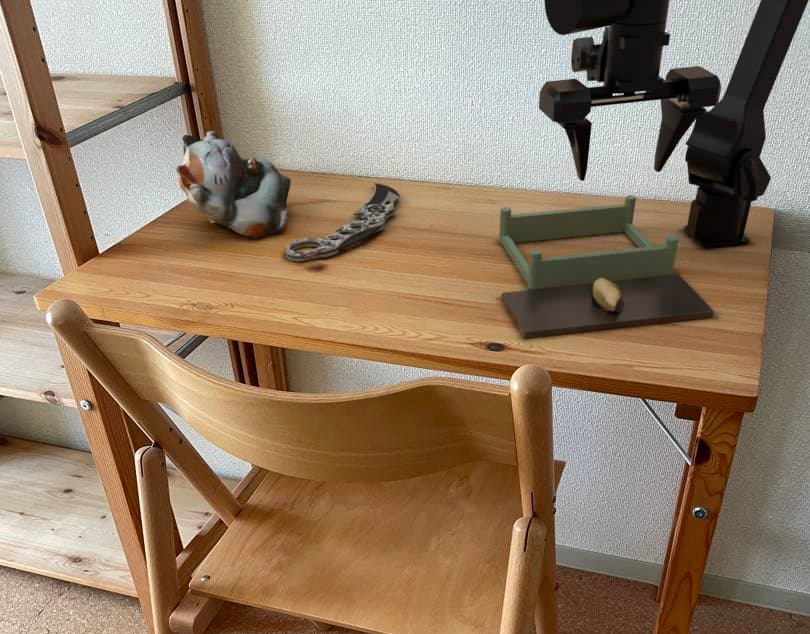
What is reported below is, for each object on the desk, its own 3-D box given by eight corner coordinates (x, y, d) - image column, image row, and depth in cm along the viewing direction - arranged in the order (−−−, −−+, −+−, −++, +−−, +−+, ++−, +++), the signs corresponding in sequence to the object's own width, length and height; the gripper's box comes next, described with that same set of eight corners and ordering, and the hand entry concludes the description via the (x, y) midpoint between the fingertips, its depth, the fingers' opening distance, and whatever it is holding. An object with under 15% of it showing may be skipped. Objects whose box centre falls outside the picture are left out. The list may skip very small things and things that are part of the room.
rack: (629, 228, 116) (634, 194, 113) (674, 275, 104) (681, 239, 101) (497, 241, 114) (499, 207, 111) (529, 290, 102) (531, 254, 99)
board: (676, 280, 103) (678, 273, 103) (712, 317, 96) (714, 310, 95) (501, 298, 101) (501, 292, 101) (524, 338, 94) (524, 332, 93)
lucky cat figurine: (282, 242, 115) (218, 157, 105) (214, 269, 121) (147, 190, 111) (302, 173, 123) (244, 88, 113) (237, 201, 129) (177, 122, 119)
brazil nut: (618, 315, 95) (624, 287, 93) (576, 306, 97) (581, 279, 95) (633, 305, 100) (638, 279, 98) (593, 297, 102) (598, 271, 100)
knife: (373, 178, 130) (431, 183, 126) (374, 189, 131) (432, 194, 127) (269, 250, 112) (333, 258, 108) (271, 261, 113) (334, 270, 109)
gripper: (689, -3, 94) (667, 145, 105) (528, 12, 92) (521, 161, 103) (737, 17, 86) (707, 175, 97) (560, 34, 84) (549, 193, 95)
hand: (619, 175), depth 98 cm, fingers open, 9 cm apart
